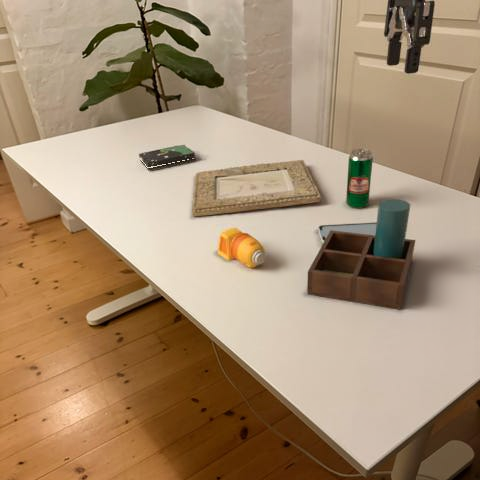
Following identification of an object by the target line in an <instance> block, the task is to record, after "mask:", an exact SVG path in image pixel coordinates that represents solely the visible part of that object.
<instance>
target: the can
mask: <svg viewBox="0 0 480 480" xmlns="http://www.w3.org/2000/svg"><path fill="white" fill-rule="evenodd" d="M410 210H411V204H410V203H409V202H408V201H406V200H404V199H400V198H388V199H383V200H381V201H380V202H378V207H377V216H376V222H377V224H376V233H375V242H374V250H373V255H374V256H381V257H389V258H397V259H402V256H403V250H404V243H405V239H406V236H407V229H408V225H409V217H410Z"/></svg>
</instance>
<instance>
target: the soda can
mask: <svg viewBox="0 0 480 480" xmlns="http://www.w3.org/2000/svg"><path fill="white" fill-rule="evenodd" d="M372 153H373V152H372V151H371V150H370V149H367V148H357V149H353V150H351V151H350V155H349V156H348V164H347V181H346V183H347V184H346V194H345V195H346V196H345V204H346V205H347V206H348V207H349V208H352V209H362V208H366V206H367V205H368V204H369V202H370V193H371V191H370V190H371V182H372V171H373V161H374V156H373V154H372Z"/></svg>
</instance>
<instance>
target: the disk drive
mask: <svg viewBox="0 0 480 480" xmlns="http://www.w3.org/2000/svg"><path fill="white" fill-rule="evenodd" d="M138 157H139V161H140V163H141V164H142V165H143V166H144V168H146V170H147V171H155V170H159V169H166V168H169V167H172V166H179V165H184V164H187V163H191V162H194V161H196V154H195V152H194V151H193V150H192V149H191V148H190V147H189V148H188V146H186V144H180V145H174V146H169V147H165V148H164V147H163V148H160V149H154V150H149V151H143V152H141V153H138ZM140 158H141V160H142V161H143V162H144V163H145V164H146V166H147V167H151V166H157V165H162V164H166V165H162V166H157V167H153V168H147V167H146V166H145V164H144V163H143V162H142V161H141V160H140ZM192 158H194V159H192ZM187 159H189V160H187ZM182 160H185V161H182ZM177 161H180V162H177ZM172 162H175V163H172ZM168 163H171V164H168Z"/></svg>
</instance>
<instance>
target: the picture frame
mask: <svg viewBox="0 0 480 480" xmlns="http://www.w3.org/2000/svg"><path fill="white" fill-rule="evenodd" d="M194 180H195V181H194V189H193V201H192V211H191V213H192V217H203V216H205V217H206V216H212V215H213V216H215V215H222V214H229V213H230V214H231V213H238V212H248V211H254V210H262V209H272V208H279V207H281V208H282V207H288V206H297V205H305V204H314V203H318V202H321V201H322V197H321V193H320V191H319V189H318V187H317V185H316V183H315V181H314V179H313V177H312V174H311V173H310V171H309V169H308V167H307V165H306V163H305V161H304V159H297V160H289V161H282V162H281V161H280V162H271V163H269V162H268V163H259V164H258V163H257V164H250V165H243V166H235V167H231V166H230V167H227V168H226V167H225V168H221V169H212V170H205V171H199V172H195V179H194Z"/></svg>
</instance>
